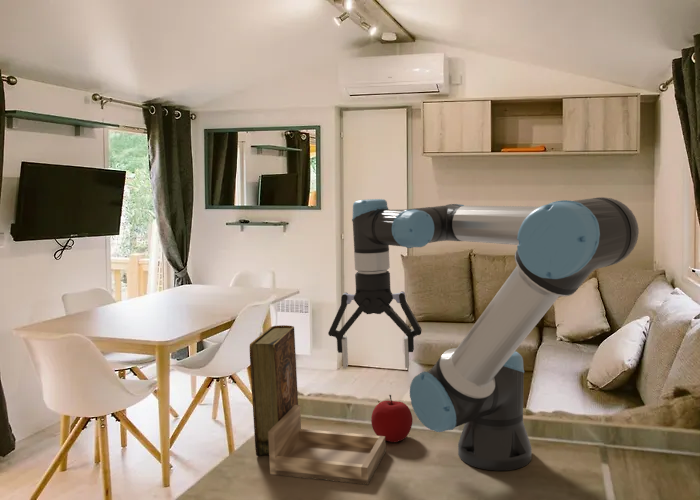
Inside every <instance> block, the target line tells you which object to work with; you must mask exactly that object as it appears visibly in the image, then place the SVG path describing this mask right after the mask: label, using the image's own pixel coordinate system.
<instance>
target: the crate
mask: <svg viewBox="0 0 700 500" xmlns="http://www.w3.org/2000/svg"><path fill="white" fill-rule="evenodd" d="M301 413H302V412H301V404H298V405H294V406H293V407H292V408H291V409H290V410H289V411H288V412H287V413H286V414H285V415H284V416H283V417H282V418H281V419H280V420H279V421H278V422H277V423H276V424H275V425H274V426H273V427H272V428H271V429H270V430H269V431H268V438H269V455H268V456H269V460H268V461H269V474H270V475H275V476H282V477H283V476H284V477H292V476H293V477H294V478H301V477H304V479H310V478H316V479H315V480H319V479H327V480H326V481H329V480H334V481H333V482H338V481H340V482H339V483H347V482H349V483H348V484H356V483H357V484H356V485H365V484H367V486H369V485H368V484H369V483H370V481H371V479H372V477H373V476H374V474H375V472H376V470H377V468H378V466H379V464H380V463H381V461H382V459H383V457H384V455H385V453H386V452H387V451H386V449H387V448H386V441H385V436H377V435H376V434H374V435H373V434H364V433H352V432H351V433H350V432H342V431H341V432H340V431H329V430H318V429H309V428H308V429H305V428H302V420H301V419H302V415H301Z"/></svg>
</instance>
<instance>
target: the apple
mask: <svg viewBox="0 0 700 500" xmlns="http://www.w3.org/2000/svg"><path fill="white" fill-rule="evenodd" d="M388 396H389V399H390V400H382V401H380V402H378V403H377V405H376V406H375V407H374V409H373V411H372V412H371V419H370V420H371V422H370V423H371V427H372V430H373V432H374V433H375V434H374V435H375V436H385V442H389V443H390V442H391V443H397V442H401V441H403V440H404V439H406V438H407V437H408V435H409V434H410V431H411V429H412V425H413V414H412V412H411V410H410V407H409V406H408V405H407V404H406V403H405V402H403V401H397V400H396V401H394V400H392V394H389V395H388Z"/></svg>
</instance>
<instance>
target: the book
mask: <svg viewBox="0 0 700 500" xmlns="http://www.w3.org/2000/svg"><path fill="white" fill-rule="evenodd" d="M295 335H296V334H295V326H294V325H293V326H292V325H273V326H270V327H269V328H268V329H267V330H265V331H263V332H262V334H260V335H259V336H257V338H255V339H254V340H253V341H251V343H250V344H249V361H250V362H249V363H250V378H251V379H250V380H251V381H250V384H251V397H252V413H253V414H252V415H253V432H254V444H255V445H254V448H255V449H254V450H255V455H256V457H260V456H269V438H268V431H269V430H270V429H271V428H272V427H273V426H274V425H275V424H276V423H277V422H278V421H279V420H280V419H281V418H282V417H283V416H284V415H285V414H286V413H287V412H288V411H289V410H290V409H291V408H292V407H293V406H294V405H299V396H298V393H299V391H298V378H297V377H298V376H297V359H296V358H297V357H296V355H297V354H296V338H295Z"/></svg>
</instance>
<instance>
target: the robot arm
mask: <svg viewBox="0 0 700 500" xmlns="http://www.w3.org/2000/svg"><path fill="white" fill-rule="evenodd" d="M351 222H352V232H353V233H352V234H353V235H352V236H353V250H354V252H353V253H354V254H353V257H354V269H355V271H357V272H355V274H354V277H355V278H354V280H355V282H354V283H355V294H351V293H348V292H344V293H343V294H342V295H341V299H340V306H339V309H338V310H337V312H336V315H335V317H334V319H333V322H332V323H331V326H330V328H329V330H328V336H329V337H334V338H335V339H336V345H337V346H336V348H337V349H336V350H337V352H338V353H339V354H341V353H342V356H341V357H342V369H348V366H349V356H348V355H349V354H348V337H347V336H345V334H346V333H347V332H348V330H349V329H350V328H351V327H352V326H353V325H354V323H355V322H356V320H357V319H358V318H359V317H360V315H362V313H364V314H366V315H373V314H376V315H382V314H383V313H384V314H386V316H388V317H389V318H390V319H391V320H392V322H394V324H396V326H397V327H398V328H399V329H400V330H401V331H402V332H403V333H404V338H403V339H404V340H403V341H404V342H403V344H404V345H403V346H404V366H405V367H404V369H409V368H410V353H413V352H414V349H415V345H414V344H415V343H414V342H415V341H414V338H415V337H417V336H420V335H421V334H422V332H423V331H422V328H421V327H422V326H420V323H419V322H418V320H417V318H416V316H415V314H414V313H413V311H412V309H411V308H410V305H409V304H408V302H407V296H406V293H405V291H400V292H397V293H392V291H391V273H390V271H388V270H389V269H390V268H391V267H390V247H389V246H393V247H394V246H395V247H403V248H407V249H412V248H423V247H425V246H426V245H428V244H431V243H436V242H437V243H438V242H447V241H449V242H469V243H483V244H484V243H485V244H497V245H498V244H499V245H514V246H516V248H517V249H516V250H515V253H514V261H515V264H516V266H515V268H514V269H513V270H512V272H511V273H510V275H509V276H508V278H506V280H505V282H504V283H503V284H502V286H501V287H500V289H499V290H498V291H497V292H496V294H495V296H494V297H493V298H492V300H491V301H489V304H488V305H487V306H486V308H485V309H484V310H483V312H481V314H480V316H479V317H478V318H477V320H476V321H475V323H474V324H473V325H472V327H471V328H470V329H469V330H468V332H467V334H465V336H464V338H463V339H462V340H461V342H460V343H459V344H458V346H457V347H456V348H455V347H454V348H449V349H446V350H445V351H444V352H443V353H442V354H441V355H440V357H439V358H438V360H437V361H436V362H435V364H434V365H433V366H432V367H431V369H429V370H428V371H422V372H420V373H418V374H416V375H415V376H414V377H413V378H412V380H411V382H410V385H409V398H410V403H411V407H412V410H413V412H414V414H415V415H416V417H417V419H418V421H420V423H421V424H422V425H423V426H425V427H426V428H427V429H428V430H430V431H434V432H436V433H442V432H446V431H452V430H455V428H457V427H459V426H462V425H463V427H462V430H461V433H460V437H459V440H458V442H457V443H458V444H457V445H458V446H457V447H458V448H457V449H458V450H457V454H458V455H457V456H458V457H459V458H460V459H461V461H462V462H464V463H465V464H466V465H467V464H468V465H469V466H471V467H475V468H478V469H481V470H487V471H498V472H502V471H503V472H504V471H513V470H518V469H521V468H523V467H525V466H527V465H528V464H529V463H531V460H532V454H533V453H532V452H533V451H532V450H533V449H532V444H531V441H530V438H529V436H528V432H527V430H526V427H525V422H524V381H525V380H524V379H525V377H524V374H525V370H524V357H523V356H522V354H521V353H520V352H518V351H516V350H517V349H518V348H519V347H520V346H521V344H522V343H523V342H524V341H525V339H526V338H527V337H528V336H529V334H530V333H531V332H532V331H533V329H534V328H536V326H537V324H539V322H540V321H541V319H542V318H543V317H544V316H545V314H547V312H548V311H549V310H550V308H551V307H552V306H553V305H554V304H555V302H556V301H557V300H558V299H559V297H570V296H572V295H574V293H576V292H577V291H578V289H579V288H580V287H581V286H582V285H583V283H584V282H585V281H586V280H587V278H588V277H589V276H590V274H592V273H593V272H594V271H595V270H598V269H602V268H606V267H609V266H613V265H616V264H619V263H620V262H622V261H624V260H626V258H628V256H630V254H631V253H632V252H633V251H634V249H635V247H636V245H637V242H638V239H639V234H640V233H639V231H640V229H639V223H638V221H637V218H636V216H635V214H634V212H633V211H632V210H631V209H630V208H629V207H628V205H626V204H625V203H623V202H622V201H621V200H617V199H614V198H611V197H603V196H601V197H593V198H584V199H576V200H564V199H563V200H556V201H552V202H550V203H548V204H543V205H541V206H531V205H530V206H528V205H527V206H521V205H520V206H519V205H518V206H516V205H515V206H514V205H512V206H511V205H464V204H457V203H451V204H445V205H437V206H427V207H426V206H425V207H416V208H415V207H414V208H405V209H389V207H388V201H387V200H386V199H382V198H381V199H380V198H375V199H374V198H372V199H371V198H367V199H358V200H355V201H354V202H353V204H352V218H351ZM393 300H395V301H396V303H397V304H399V305H400V307H401V310H402V311H403V313H404V314H405V316H406V318H407V320H408V322H409V324H410V325H411V326H409V325H408V324H407V323H406V322H405V321H404V320H403V319H402V317H401V316H400V315H399V314H398V313H397V312H396V311H395V310H394V308H393V307H392V306H391V305H390V304H392V303H391V302H392V301H393ZM352 301H354V302H355V304H356V305H357V306H358V307H357V308H356V309H355V311H354V312H353V313H352V314H351V315H350V317H349V318H348V319H347V320H346V322H345V323H344V325H342V328H341V329H339V330H337V329H338V327H339V324H340V322H341V320H342V317H343V315H344V313H345V311H346V309H347V306H348V305H349V304H351V302H352ZM411 327H412V328H411Z"/></svg>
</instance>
